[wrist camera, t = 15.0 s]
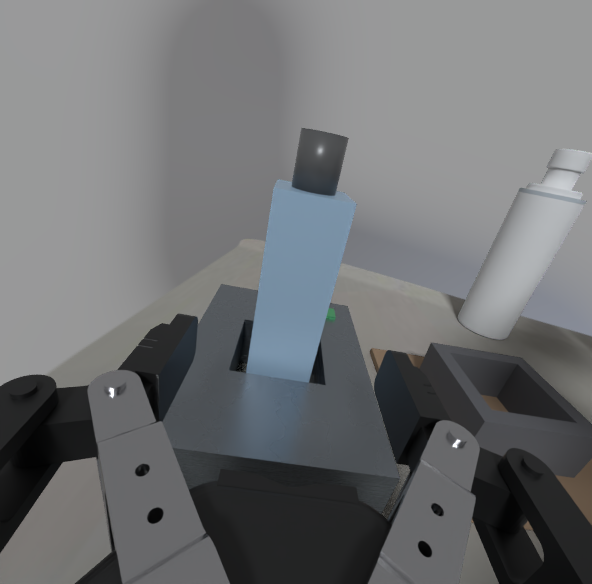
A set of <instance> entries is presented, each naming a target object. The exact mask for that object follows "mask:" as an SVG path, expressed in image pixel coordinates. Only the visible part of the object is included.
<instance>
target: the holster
mask: <svg viewBox="0 0 592 584" xmlns="http://www.w3.org/2000/svg"><path fill="white" fill-rule="evenodd" d="M386 352H387V351H386V350H380V349H374V348H372V349H371V351H370V354H371V357H372V360H373V363H374V366H375V369H376V371H377V373H378V370H379V368H380V365H381V363H382V360H383V358H384V355H385V353H386ZM407 355H408V356H409V358H410V360H411V362H412V364H413V366H415V367H418V368H419V369H420V370H421V371H422V372H423V373H424V374H425V375H426V376H427V378H428V380H429V381H430V383H431V385H432V387H433V388H434V390H435V392H436V395H437V396H438V397H439V399H440V401H441V403H442V405H443V406H444V408H445V410H446V412H447V414H448V415H449V417H450V419H451V421H452V422H455V423H457V424H459V425H461V426H462V427H464V428H465V429H466V430H468V431H469V432H470V433H471V434H472V435H473V436H474V437H475V439H476V440H477V442H478V444H479V447H481V448H483V449H486V450H488V451H491V452H493V453H496V454H498V455H500V456H504V455H505V453H506V452H507V450H509V449H510V448H518V449H522V450H525V451H527V452H529V453H531V454H533V455H534V456H536V457H537V458H539V459H540V460H541V461H542V462H544V463H545V464H546V465H547V466H548V467H549V468H550V469H551V471H552V472H553V473H554V475H555V476H556V477H557V479H558V480H559V481H560V483H561V484H562V486H563V487H564V488H565V490H566V491H567V492H568V494H569V495H570V496H571V498H572V499H573V501H574V502H575V503H576V505H577V506H578V507H579V509H580V510H581V511H582V513H583V514H584V516H585V517H586V518H587V520H588V521H589V522H590V524H591V525H592V424H591V423H590V422H589V421H588V420H587V419H586V418H585V417H583V416H582V415H581V414H580V413H579V412H578V411H577V410H576V409H575V408H574V407H573V406H572V405H571V404H570V403H569V402H568V401H567V400H566V399H564V398H563V397H562V396H561V395H560V394H559V393H558V392H557V391H556V390H555V389H554V388H553V387H552V386H551V385H550V384H549V383H548V382H546V381H545V380H544V379H543V378H542V377H541V376H540V375H539V374H538V373H537V372H536V371H535V370H534V369H533V368H532V367H531V366H530V365H528V364H527V363H526V362H525V361H524V360H523V359H522V358H520V357H514V356H508V355H502V354H496V353H490V352H484V351H479V350H473V349H467V348H461V347H455V346H449V345H443V344H437V343H431V344H430V346H429V349H428V351H427V353H426V355H425V357H422V356H416V355H410V354H407ZM471 522H472V523H474V522H473V520H472V521H471ZM523 527H524V529H527V530H533V529H532V527H531V525H530V524H529V522H527V523H526V524H525V525H524V526H523Z"/></svg>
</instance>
